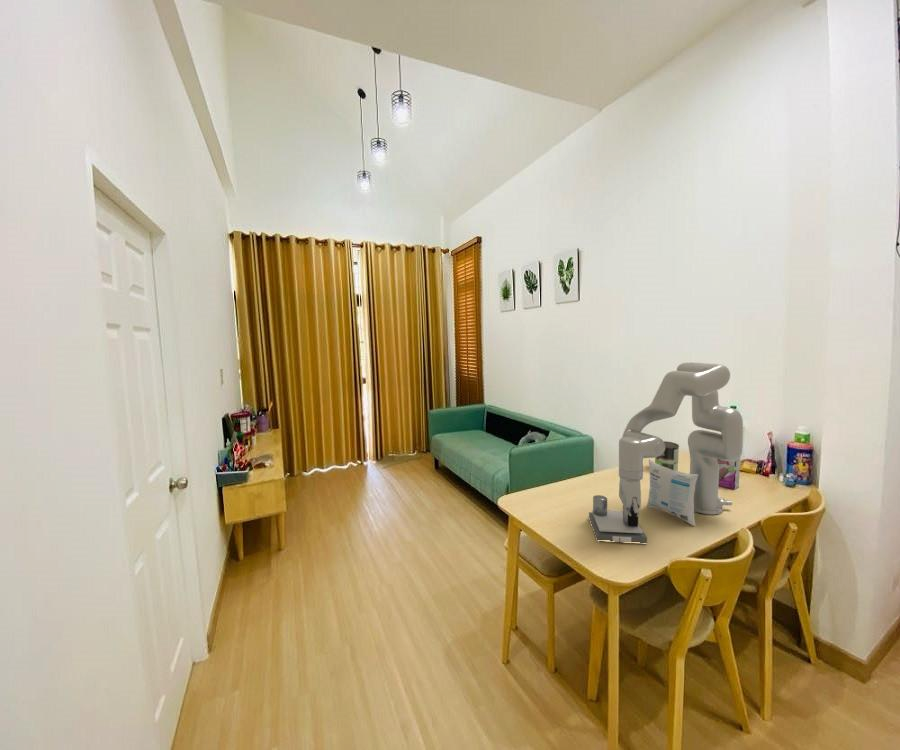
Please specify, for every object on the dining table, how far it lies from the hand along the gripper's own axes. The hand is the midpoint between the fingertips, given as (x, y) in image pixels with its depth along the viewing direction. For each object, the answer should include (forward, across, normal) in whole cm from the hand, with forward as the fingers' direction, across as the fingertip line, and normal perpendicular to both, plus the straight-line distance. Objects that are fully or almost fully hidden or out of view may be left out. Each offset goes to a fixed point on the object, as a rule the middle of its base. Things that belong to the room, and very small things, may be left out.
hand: (630, 521), depth 130 cm
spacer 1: (+1, -7, -9) cm, 11 cm away
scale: (+5, -3, -4) cm, 7 cm away
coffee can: (+6, -62, +34) cm, 71 cm away
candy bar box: (+6, -47, +52) cm, 70 cm away
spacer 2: (+1, 0, 0) cm, 1 cm away
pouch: (+6, -16, +19) cm, 25 cm away
